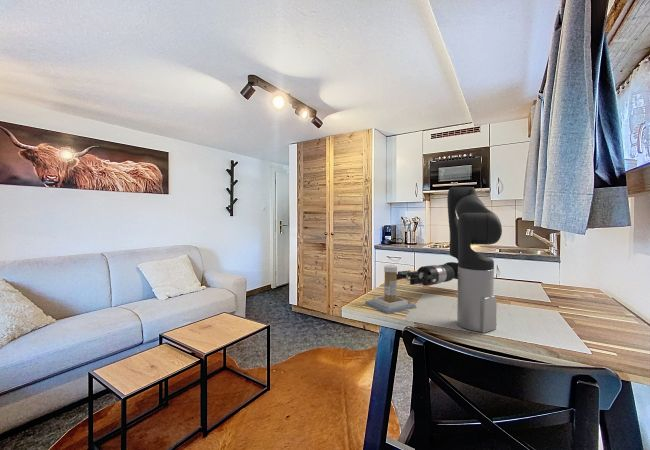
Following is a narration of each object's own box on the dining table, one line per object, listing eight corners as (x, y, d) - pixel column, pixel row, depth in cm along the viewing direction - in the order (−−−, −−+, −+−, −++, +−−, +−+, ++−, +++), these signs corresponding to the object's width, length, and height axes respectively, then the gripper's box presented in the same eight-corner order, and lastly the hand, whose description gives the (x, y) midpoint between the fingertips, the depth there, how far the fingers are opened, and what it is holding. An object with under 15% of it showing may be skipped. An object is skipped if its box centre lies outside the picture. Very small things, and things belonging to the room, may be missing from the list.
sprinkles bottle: (381, 301, 101) (382, 265, 101) (393, 300, 102) (393, 264, 102) (387, 305, 97) (387, 267, 96) (399, 304, 98) (399, 266, 97)
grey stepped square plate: (415, 307, 97) (415, 300, 97) (387, 313, 91) (387, 306, 91) (391, 298, 108) (392, 292, 108) (365, 303, 102) (365, 297, 101)
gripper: (417, 263, 116) (388, 266, 108) (447, 268, 104) (417, 272, 96) (417, 280, 116) (388, 285, 108) (447, 288, 104) (416, 294, 96)
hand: (402, 279), depth 102 cm, fingers open, 8 cm apart
